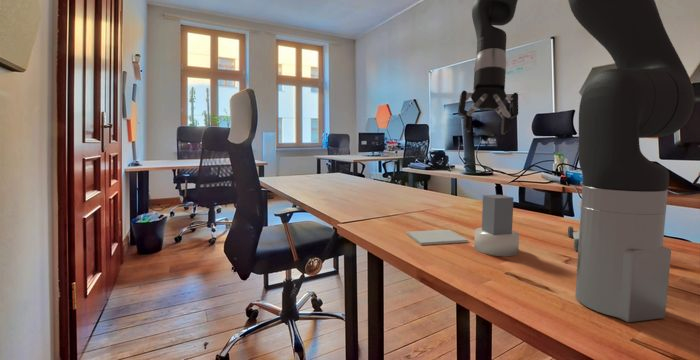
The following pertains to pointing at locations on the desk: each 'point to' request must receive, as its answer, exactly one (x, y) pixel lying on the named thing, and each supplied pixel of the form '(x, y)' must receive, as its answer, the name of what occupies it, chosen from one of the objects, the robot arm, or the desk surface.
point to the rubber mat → (436, 237)
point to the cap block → (497, 214)
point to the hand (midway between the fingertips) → (486, 132)
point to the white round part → (496, 243)
